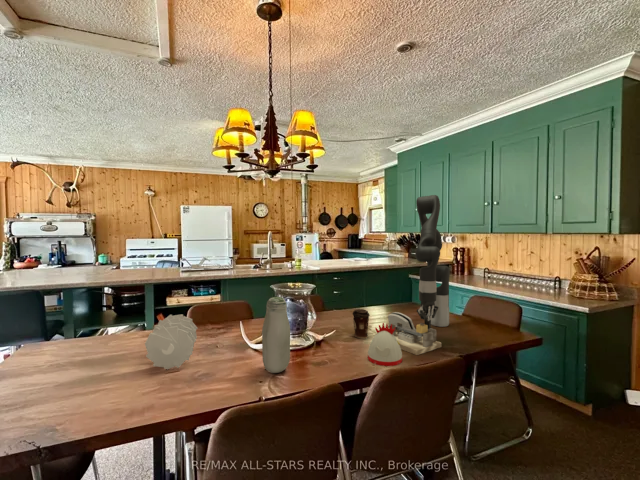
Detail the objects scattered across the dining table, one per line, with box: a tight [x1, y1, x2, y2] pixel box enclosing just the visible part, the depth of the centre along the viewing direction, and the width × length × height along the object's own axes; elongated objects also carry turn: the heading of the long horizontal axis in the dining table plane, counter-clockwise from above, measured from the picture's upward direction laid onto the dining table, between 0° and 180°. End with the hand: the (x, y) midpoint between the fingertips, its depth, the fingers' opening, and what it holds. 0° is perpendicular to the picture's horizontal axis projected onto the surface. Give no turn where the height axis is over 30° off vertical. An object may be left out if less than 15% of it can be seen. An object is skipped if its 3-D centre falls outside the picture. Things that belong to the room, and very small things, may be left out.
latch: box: [415, 322, 428, 333], centre depth 145 cm, size 4×3×4 cm
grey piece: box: [387, 311, 416, 330], centre depth 173 cm, size 17×5×10 cm, turn 28°
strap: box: [396, 325, 425, 337], centre depth 151 cm, size 3×17×1 cm, turn 35°
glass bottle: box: [261, 296, 291, 374], centre depth 121 cm, size 10×10×28 cm
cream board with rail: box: [392, 322, 442, 356], centre depth 151 cm, size 17×22×8 cm
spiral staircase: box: [144, 314, 199, 370], centre depth 132 cm, size 18×18×25 cm
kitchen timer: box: [367, 322, 403, 367], centre depth 133 cm, size 14×14×15 cm
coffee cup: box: [352, 308, 370, 339], centre depth 162 cm, size 9×8×13 cm
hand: (427, 328), depth 147 cm, fingers closed
